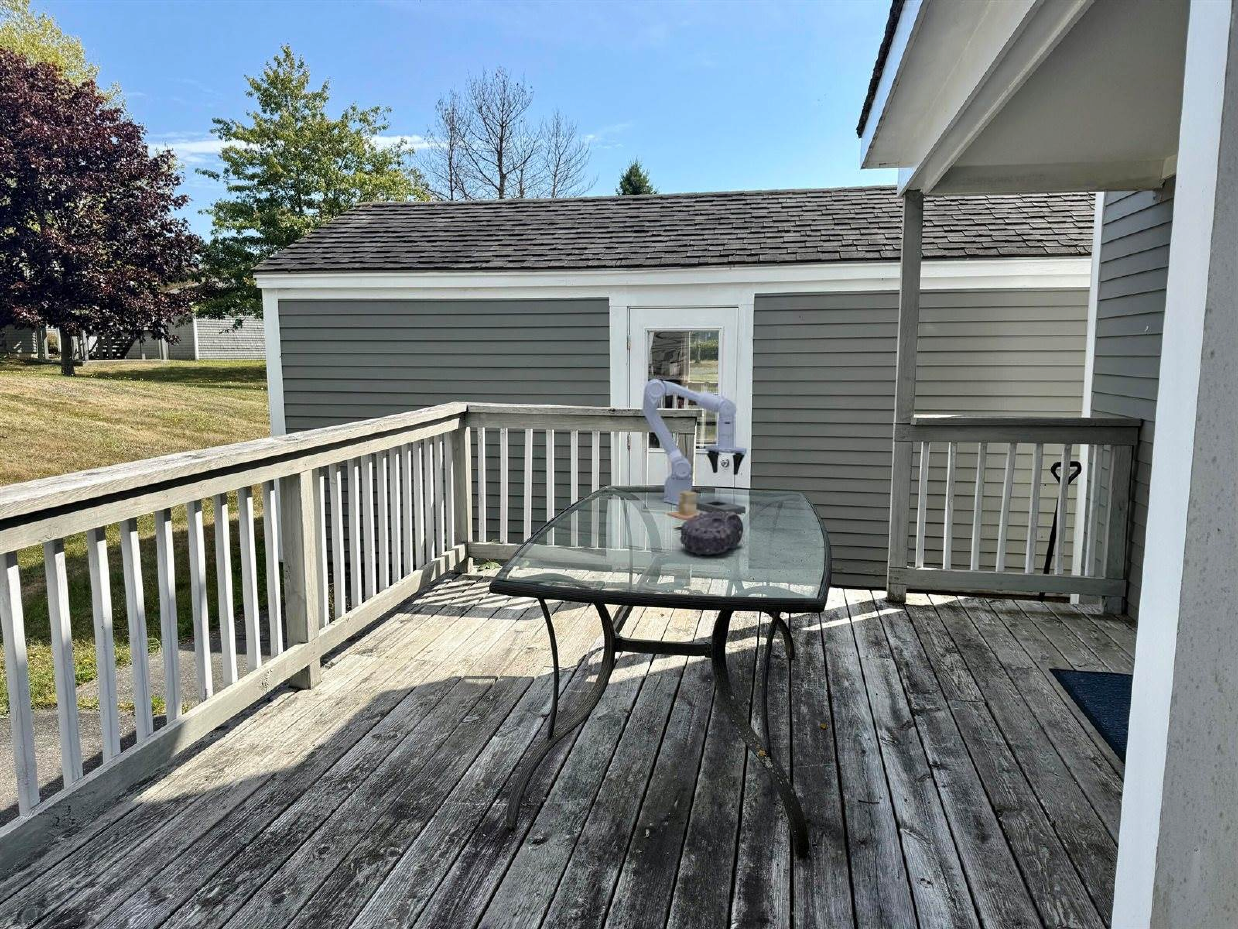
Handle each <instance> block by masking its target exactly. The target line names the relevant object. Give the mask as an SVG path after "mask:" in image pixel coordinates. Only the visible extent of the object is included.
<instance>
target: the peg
mask: <svg viewBox="0 0 1238 929" xmlns="http://www.w3.org/2000/svg"><path fill="white" fill-rule="evenodd" d="M697 494H698V493H697V492H694V491H692V490H691V491H685V492H679V505H678V511H679V514H682V515H686V516H688V515H695V514H696V512H697V509H696V501H697V499H698V498H697Z"/></svg>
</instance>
